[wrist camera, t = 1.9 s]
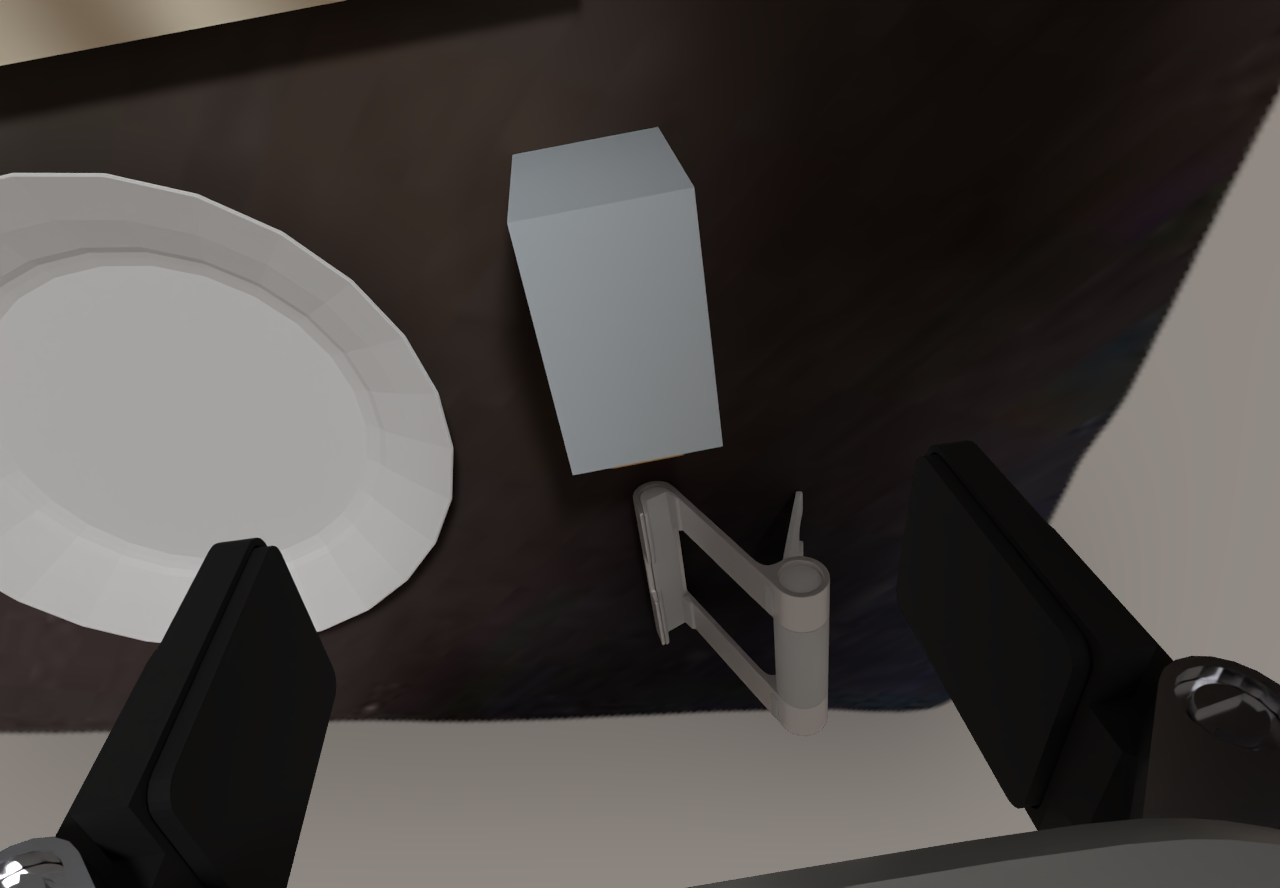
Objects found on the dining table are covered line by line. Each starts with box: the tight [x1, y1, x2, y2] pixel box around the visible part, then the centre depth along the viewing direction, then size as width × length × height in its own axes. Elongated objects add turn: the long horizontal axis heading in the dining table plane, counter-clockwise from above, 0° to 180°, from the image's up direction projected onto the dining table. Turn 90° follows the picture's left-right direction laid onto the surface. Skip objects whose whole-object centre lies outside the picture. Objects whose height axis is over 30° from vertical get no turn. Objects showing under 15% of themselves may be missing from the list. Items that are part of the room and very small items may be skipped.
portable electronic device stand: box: [633, 481, 830, 736], centre depth 33 cm, size 9×8×8 cm
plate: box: [0, 173, 453, 643], centre depth 29 cm, size 21×21×2 cm
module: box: [507, 127, 723, 475], centre depth 25 cm, size 5×9×7 cm, turn 9°
